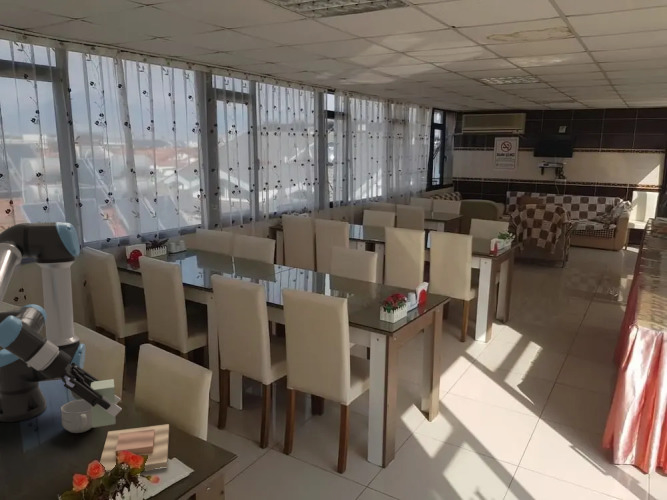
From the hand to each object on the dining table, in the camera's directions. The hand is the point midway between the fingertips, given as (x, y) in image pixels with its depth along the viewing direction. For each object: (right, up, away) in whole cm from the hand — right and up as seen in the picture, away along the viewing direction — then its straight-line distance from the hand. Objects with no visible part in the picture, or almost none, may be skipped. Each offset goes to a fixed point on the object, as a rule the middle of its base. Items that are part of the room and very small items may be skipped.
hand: (117, 407), depth 148 cm
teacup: (-19, -13, +17) cm, 28 cm away
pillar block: (-3, -4, -1) cm, 5 cm away
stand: (+4, -15, +5) cm, 16 cm away
